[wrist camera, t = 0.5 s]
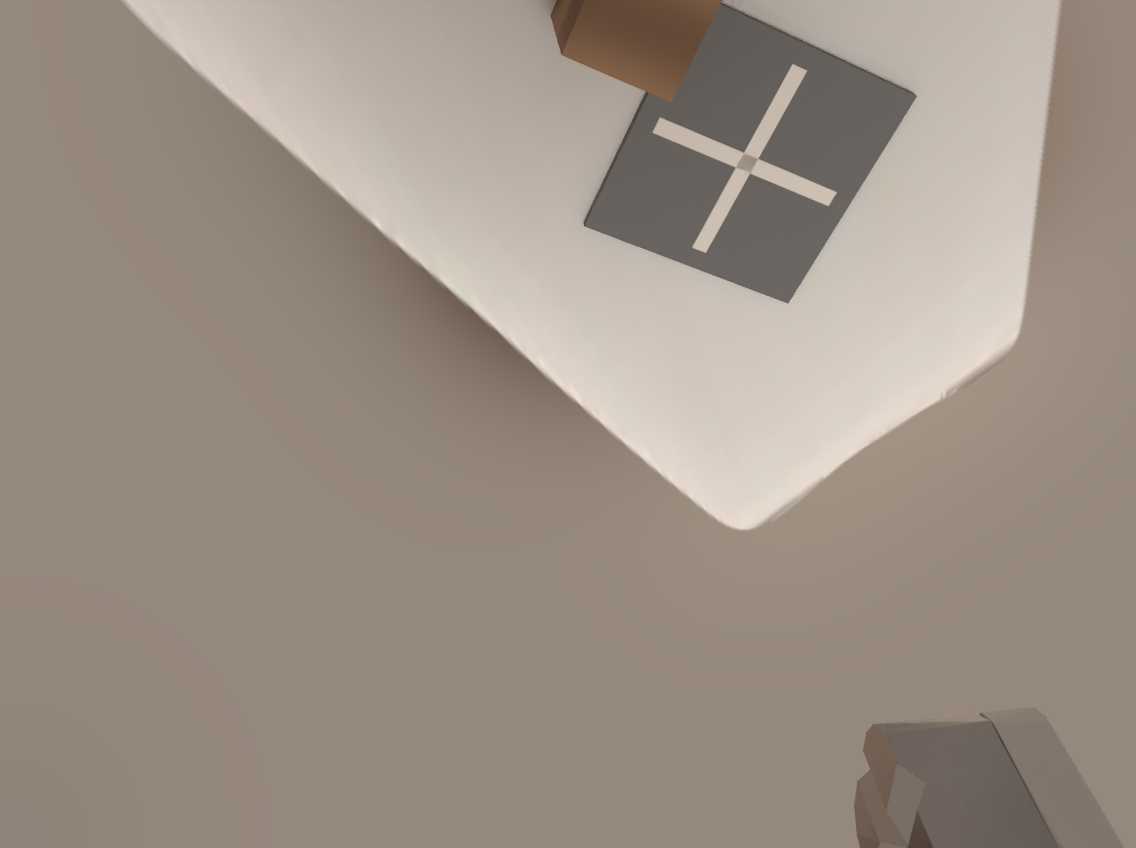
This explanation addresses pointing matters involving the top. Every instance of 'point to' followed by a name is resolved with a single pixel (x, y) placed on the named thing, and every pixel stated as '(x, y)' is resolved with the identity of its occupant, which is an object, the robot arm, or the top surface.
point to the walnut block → (634, 38)
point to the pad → (749, 156)
